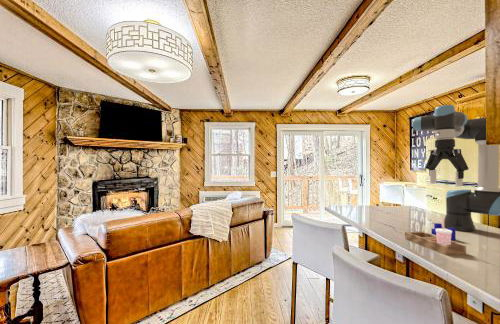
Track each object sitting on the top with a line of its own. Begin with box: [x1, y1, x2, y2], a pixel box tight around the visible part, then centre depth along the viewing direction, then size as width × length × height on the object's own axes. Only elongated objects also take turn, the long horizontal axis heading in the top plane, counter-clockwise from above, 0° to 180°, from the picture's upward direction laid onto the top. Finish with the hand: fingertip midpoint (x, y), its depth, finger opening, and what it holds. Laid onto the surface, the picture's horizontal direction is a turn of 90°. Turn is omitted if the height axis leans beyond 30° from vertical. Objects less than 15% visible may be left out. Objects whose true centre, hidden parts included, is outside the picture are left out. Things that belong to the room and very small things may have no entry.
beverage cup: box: [435, 218, 452, 245], centre depth 118 cm, size 6×6×14 cm
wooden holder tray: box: [404, 231, 467, 256], centre depth 124 cm, size 24×10×4 cm, turn 8°
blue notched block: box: [431, 222, 457, 241], centre depth 139 cm, size 12×4×6 cm, turn 177°
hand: (445, 184), depth 121 cm, fingers open, 13 cm apart
